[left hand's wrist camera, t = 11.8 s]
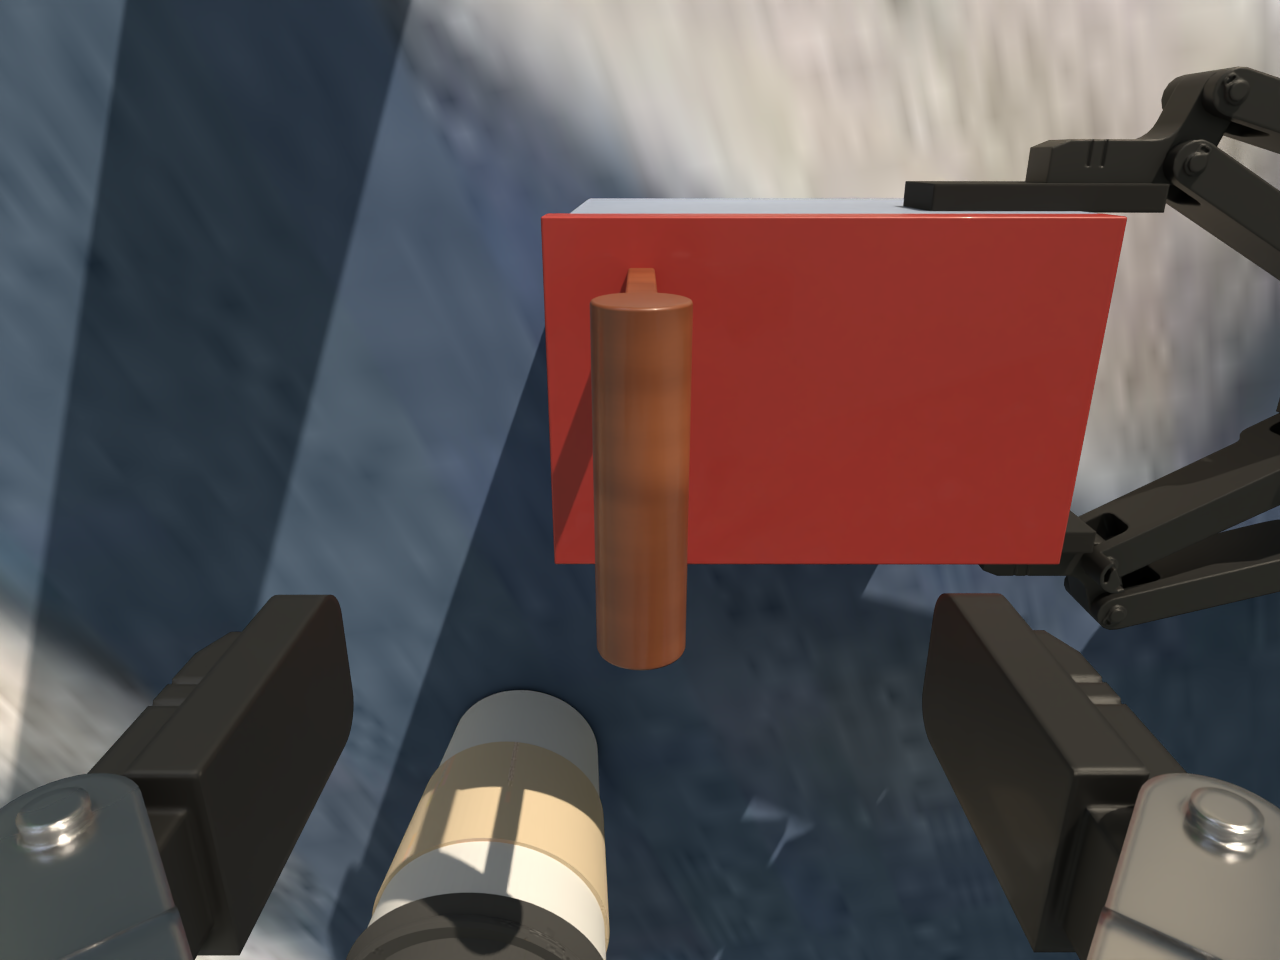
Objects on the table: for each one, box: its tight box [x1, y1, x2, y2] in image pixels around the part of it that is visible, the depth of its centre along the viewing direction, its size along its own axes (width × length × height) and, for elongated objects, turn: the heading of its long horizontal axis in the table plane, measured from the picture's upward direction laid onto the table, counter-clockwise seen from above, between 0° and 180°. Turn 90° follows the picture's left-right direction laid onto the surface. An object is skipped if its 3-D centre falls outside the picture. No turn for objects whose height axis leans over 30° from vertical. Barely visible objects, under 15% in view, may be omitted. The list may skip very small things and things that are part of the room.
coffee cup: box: [346, 690, 609, 960], centre depth 33 cm, size 9×9×15 cm
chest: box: [570, 199, 1098, 214], centre depth 29 cm, size 14×10×9 cm
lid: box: [541, 214, 1127, 670], centre depth 20 cm, size 15×10×8 cm, turn 90°
